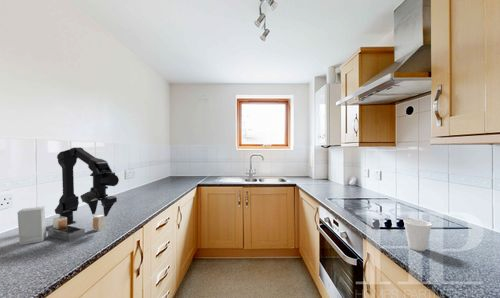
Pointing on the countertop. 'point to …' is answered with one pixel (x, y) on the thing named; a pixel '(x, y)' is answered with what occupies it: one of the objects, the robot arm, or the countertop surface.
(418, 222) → the cup
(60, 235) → the grey holder tray
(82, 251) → the countertop surface
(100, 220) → the pale upright block
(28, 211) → the skincare box
